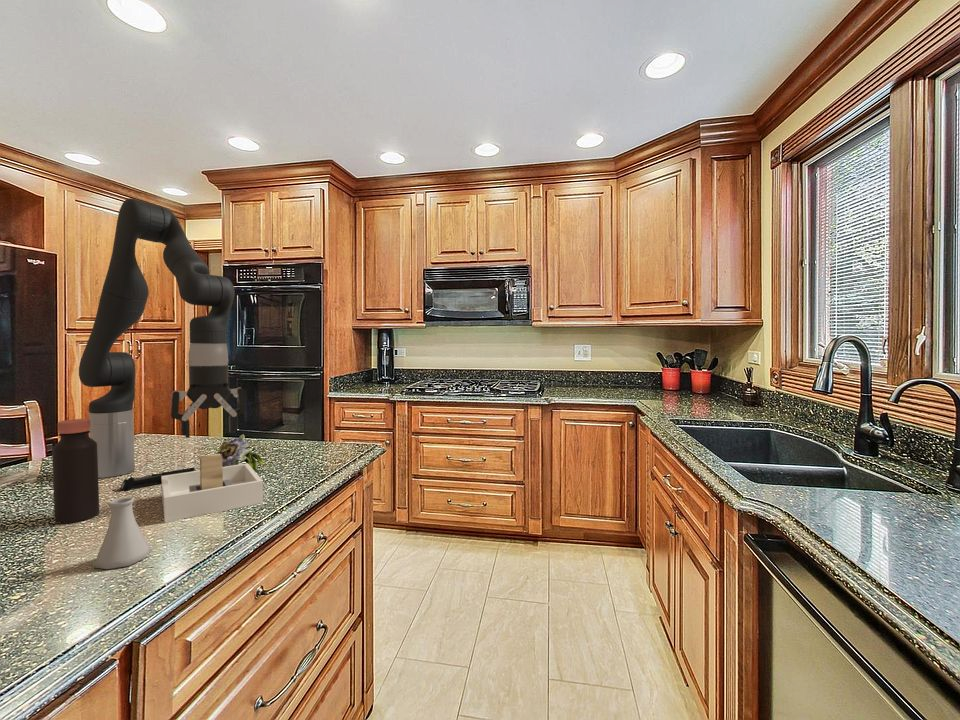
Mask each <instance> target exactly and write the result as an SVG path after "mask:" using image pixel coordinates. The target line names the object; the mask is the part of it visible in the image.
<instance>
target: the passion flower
mask: <svg viewBox="0 0 960 720" xmlns="http://www.w3.org/2000/svg"><path fill="white" fill-rule="evenodd" d="M244 441H245V435H244V433H243V434H241V435H239V437H238V438H237V437H235V438H233V439H230V440H227V441H223V442H222V443H221V444H220V445H219V448H218V450H217V452H216V453H215V454H220V455H221V456H222V467H226V466H233V465H238V463H239V461H240V462H245V464H246V463H248V464H249V465H250V466H251V467H252V469H253V470H254V471H255V472H256V473H257V469H258V464H259V465H260V469H262V468H263V464H264V461H263V458H262V457H261V456H260V455H258V454H257V453H256V452H258V451H261V450H263V451H264V454H265V456H266V455H268V451H267V449H266V447H263V448H260V449H257V450H255V451H253V452H252V451H251V449H250V447H251V446H253V444H254V440H250V441H246V442H244ZM257 462H258V463H257Z"/></svg>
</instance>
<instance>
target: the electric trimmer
mask: <svg viewBox="0 0 960 720" xmlns="http://www.w3.org/2000/svg"><path fill="white" fill-rule="evenodd" d="M192 471H196V468H195V467H188V468H182V469H176V470H170V471H163V472H161V473H152V474H151V475H147V476H140V477H136V478H134V477H133V476H130V477H129V478H128V479H127V478H125V479H123V481H122V483H121V485H120V487H119V490H120V492H121V491H123V492H128V491H129V489H130V490H134V488H135V489H138V487H139V488H144V487H149V486H153V485H157V484H158V485H159V484H162V482H161V476H165V475H172V474H179V473H186V472H192ZM143 486H144V487H143Z"/></svg>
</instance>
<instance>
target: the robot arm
mask: <svg viewBox="0 0 960 720" xmlns="http://www.w3.org/2000/svg"><path fill="white" fill-rule="evenodd" d="M138 239H139V240H142V241H143V240H144V241H149V242H152V243H158V244H159V243H160V244H163V245H165V247H164V249H163V251H162V259H163V263H164V264H165V266H166V267H167V269H168V270H169V271H170V272H171V274H172V275H173V276H174V277H175V280H176V283H177V287H178V293H179V296H180V298H181V299H182V300H183V301H184V302H186V303H187V304H189V305H192V306H201V307H202V306H203V307H211V309H210V311H209V312H208V314H207V315H203V316H201V315H200V316H196V317H192V318H191V319H190V320H189V321H190V322H189V349H188V376H189V377H188V383H189V384H188V389H187V390H186V391H183V390H181V391H178V390H176V389H175V390H173V391H172V393H171V406H170V407H171V409H170V417H171V419H172V420H178V421H180V422H181V423H180V424H181V425H180V427H181V431H180V432H181V434H182V436H185V438H186V439H188V438H190V436H191V435H190V434H191V433H190V432H191V430H190V425H191V424H190V417H192V415H193V414H194V413H195V412H196V411H197V410H198V409H201V410H207V409H218V408H220V407H222V408H223V409H224V410H225V411H226V412H227V413H228V414H229V416H228V432H229V434H234V432H235V431H237V430H238V429H237V427H238V426H237V425H238V421H237V420H238V416H239V415H241V414H244V413H246V399H245V398H246V397H245V389H244V388H242V387H241V386H238V387H237V388H230V387H229V352H228V346H227V326H228V325H227V324H228V321H229V317H230V312H231V309H232V307H233V303H234V299H235V293H236V292H235V287H234V284H233V283H232V281H231V280H230V279H229V278H228V277H225V276H222V275H217V274H216V275H214V274H210V272H211V271H210V269H209V266H208V264H207V263H206V262H205V261H204V259H203V258H202V257H201V256H200V254H198V253H197V251H195V249H194V248H193V247H192V245H191V243H190V241H189V239H188V237H187V235H186V233H185V231H184V229H183V227H182V225H181V223H180V221H179V219H178V218H177V216H176V215H175V213H173V211H171V209H169V208H167V207H164V206H162V205H158V204H155V203H150V202H147V201H144V200H140V199H137V198H133V197H130V198H127V199H125V200H124V201H123V202H122V204H121V206H120V208H119V212H118V215H117V221H116V226H115V232H114V240H113V246H112V252H111V257H110V261H109V265H108V269H107V272H106V277H105V279H104V283H103V285H102V289H101V293H100V296H99V301H98V306H97V310H96V315H95V318H94V322H93V324H92V330H91V331H90V335H89V337H88V340H87V342H86V345H85V348H84V350H83V353H82V355H81V358H80V362H79V366H78V376H79V377H78V378H79V380H80V383H81V384H82V385H83V386H85V387H87V388H88V387H89V388H99V387H100V388H102V387H103V388H104V387H110V390H109V391H108V392H107V393H105V394H104V395H102V396H101V397H99V398H98V397H97V398H96V399H93V400H92V401H90V402H89V404H88V419H90V423H91V430H89V431H90V433H89V437H90V438H91V439H93V440H94V441H96V442H97V453H98V479H100V478H101V479H103V478H104V479H105V478H113V477H118V476H124V475H126V474H130V473H132V472H135V470H136V469H135V466H136V465H135V442H134V441H135V437H134V435H135V433H134V432H135V429H134V402H135V396H136V364H135V360H134V358H133V356H132V355H131V354H130V353H128V352H123V351H111V349H112V347H113V345H114V344H115V342H116V341H117V340H118V338H119V337H121V336H122V335H123V334H124V333H125V332H127V331H128V330H129V329H130V328H131V327H133V325H135V324H136V323H137V322H138V321H139V320H140V318H141V317H142V316H143V314H144V312H145V308H146V305H147V302H148V298H149V294H150V293H149V292H150V291H149V285H148V283H147V280H146V278H145V277H144V274H143V272H142V270H141V268H140V267H139V264H138V263H139V262H138V260H137V257H136V245H137V241H138ZM230 395H233V397H234V398H236V400H237V401H236V402H237V408H235V409H234V408H232V406H231V405H230V404H229V403H228V402H227V399H228V398H229V397H230ZM185 397H187V398H188V399H189V400H190V401H191V403H190V404H189V405H188V406H187V408H186V410H185V411H184V412H183V413H181V412H180V413H179V408H180V402H182V401H184V398H185Z"/></svg>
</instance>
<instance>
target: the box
mask: <svg viewBox="0 0 960 720" xmlns="http://www.w3.org/2000/svg"><path fill="white" fill-rule="evenodd" d="M222 471H223V487H217V488H211V489H205V490H200V469H199V470H194V471H192V472H186V473H179V474H172V475H165V476H161V482H162V483H161V499H162V500H161V501H162V511H163V518H164V519H163V520H164V523H165V522H166V523H170V522H169V521H171V522H175V521H174V520H176V521H180V520H179V519H181V520H185V519H184V518H186V519H189V518H190V517H191V518H195V517H200V515H201V516H206V515H210V514H214V513H219V512H221V513H222V512H224V511H230V510H236V509H239V508H245V507H250V506H255V505H260V504H263V503H264V480H263V479H262V477H260V476H259V474H258V473H257V472H255V471H254V470H253V469H252V467H251V466H250V465H249V464H248V463H246V462H245V463H239V464H237V465H233V466H226V467H222ZM205 514H206V515H205ZM191 518H190V519H191Z"/></svg>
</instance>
